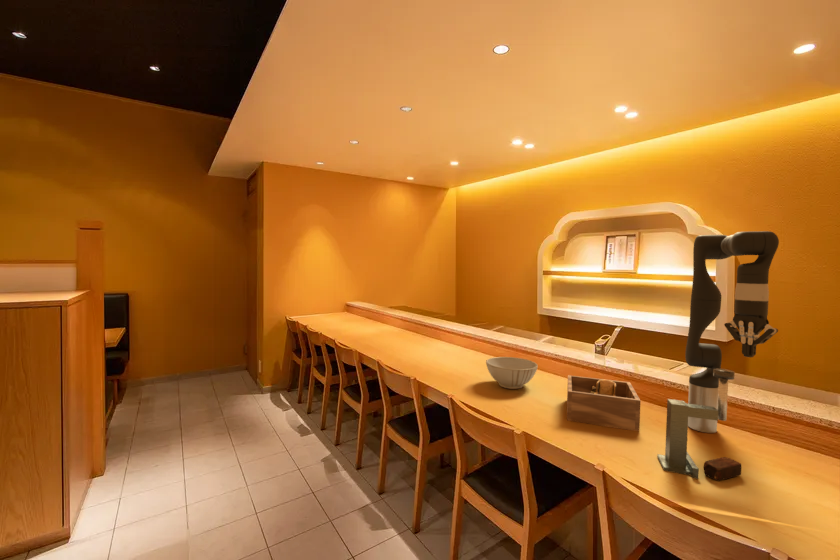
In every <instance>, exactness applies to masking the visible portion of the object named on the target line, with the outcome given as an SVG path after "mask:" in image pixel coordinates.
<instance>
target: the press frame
mask: <svg viewBox="0 0 840 560" xmlns="http://www.w3.org/2000/svg"><path fill="white" fill-rule="evenodd" d="M666 403H667V404H666V422H665V423H666V424H665V425H666V426H665V428H666V429H665V448H664V449H665V450H664V451H665V452H664V453H665V454H658V453H657V455H656V456H657V459H658V461H659V464H660V466H661V467H662V470H663V471H665V472H671V473H676V474H682V475H686V476H691V478H692V479H696V480H697V479H699V467H698V466H697V464H696V463H695V462H694V460H693V459H692V456H691V455H690V454H689V452H688V432H689V429H688V428H689V427H688V417H695V418H702V419H709V420H717V422H718V421H719V419H718V410H717V409H716V408H715V407H711V406H703V405H695V404H688V402H686V401H684V400H678V399H671V398H667V402H666Z"/></svg>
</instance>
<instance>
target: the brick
mask: <svg viewBox="0 0 840 560" xmlns="http://www.w3.org/2000/svg"><path fill="white" fill-rule="evenodd" d="M703 473H704V475H705V476H706V477H708V478H710V479H712V480H716V481H722V480H723V481H724V480H727V479H730V478H731V479H732V478H735V477H738V476H741V474H742V463H741V462H739V461H737V460H735V459H733V458H731V457H726V456H723V457H719V458H713V459H709V460H705V461H704V464H703Z"/></svg>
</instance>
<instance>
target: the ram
mask: <svg viewBox="0 0 840 560" xmlns="http://www.w3.org/2000/svg"><path fill="white" fill-rule="evenodd" d="M735 372H736V371H734V370H731V369H726V368H721V369H718V368H716V369H714V370H713V376H714V377H717V378H719V389H718V421H722V422H723V421H724V422H726V421H727V417H728V416H727V413H728V412H727V411H728V395H729V394H728V391H729V380H731V381H733V380H735V374H736V373H735Z"/></svg>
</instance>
